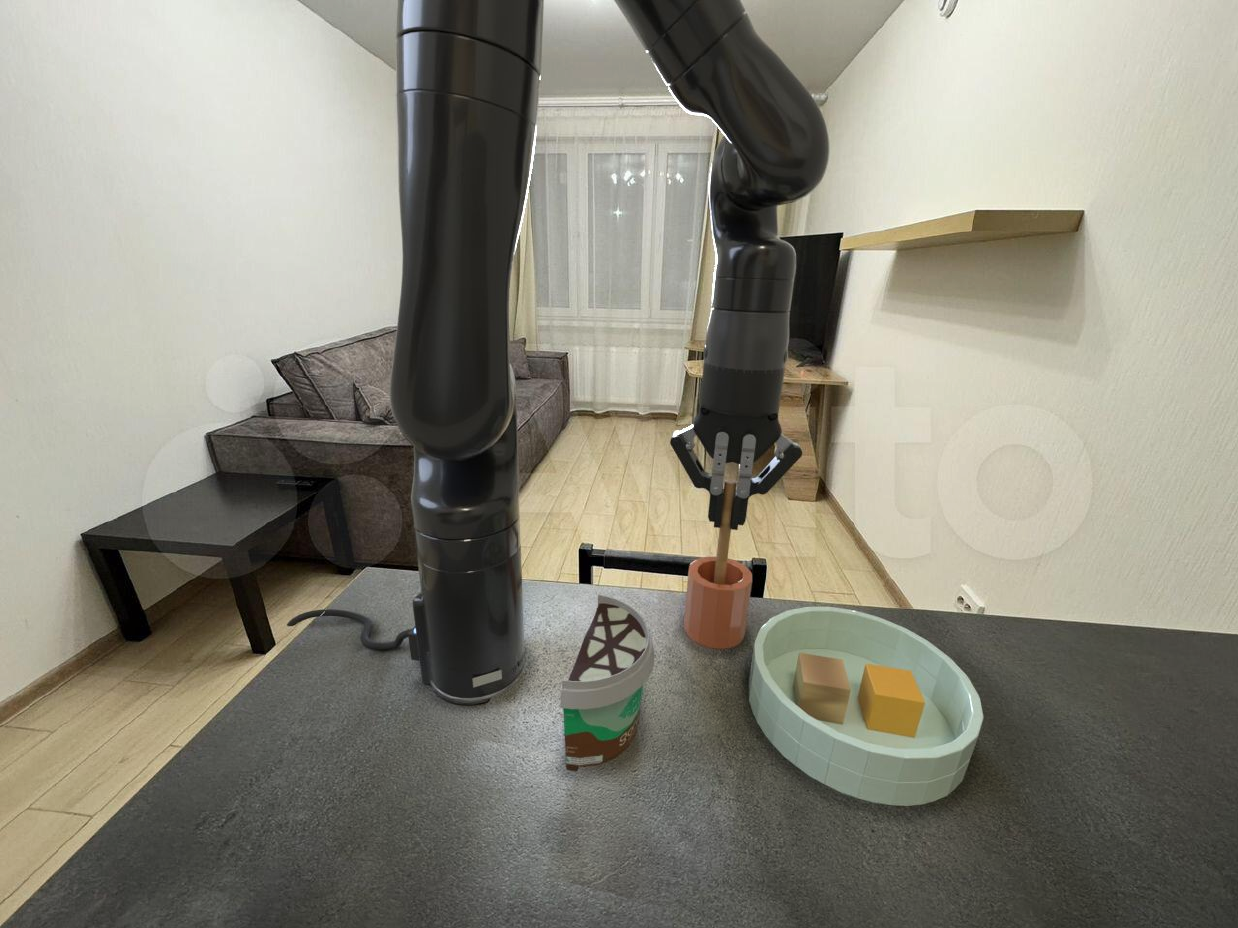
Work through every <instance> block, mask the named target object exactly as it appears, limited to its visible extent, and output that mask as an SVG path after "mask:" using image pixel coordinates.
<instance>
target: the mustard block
mask: <svg viewBox="0 0 1238 928" xmlns="http://www.w3.org/2000/svg"><path fill="white" fill-rule="evenodd" d="M858 699H859V703H860V706H861V710H862V713H863V717H864V720H865V724H866V727H867V729H869V730H875V731H880V732H886V733H891V734H897V735H902V736H908V737H913V738H915V735H916V732H917V729H918V725H919V722H920V719H921V715H922V712H923V708H924V705H925V701H924V699H923V697H922V694H921V692H920V690H919V688H918V685H917V683H916V681H915V679H914V676H913V674H912V672H911V671H909V670H903V669H897V668H891V667H884V666H878V665H872V664H865V668H864V672H863V676H862V680H861V685H860V689H859V693H858Z"/></svg>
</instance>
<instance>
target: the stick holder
mask: <svg viewBox="0 0 1238 928" xmlns="http://www.w3.org/2000/svg"><path fill="white" fill-rule="evenodd" d="M715 564H716V556H704V557H700V558H696V559H695V560H693V562H691V563H690V564H689V565H688V572H687V583H686V594H685V605H684V606H685V607H684V617H683V629H684V632H685V634H686V635H687V637H688V638H689V639H690V640H692V641H693V642H695V644H698V645H700V646H703V647H705V648H709V649H713V650H714V649H715V650H726V649H731V648H734V647H736V646H738V645H739V644H741V643H742V641H743V640H744V638H745V636H746V630H747V621H748V614H749V607H750V599H751V594H752V593H751V592H752V586H753V573H752V572H751V570H750V569H749V568H748V567H747V565H745V564H743V563H741V562H739V561H738V560H735V559H732V558H728V559H727V568H726V576H725V585H719V584H715V583H714V574H715Z"/></svg>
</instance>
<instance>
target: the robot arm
mask: <svg viewBox="0 0 1238 928" xmlns="http://www.w3.org/2000/svg"><path fill="white" fill-rule="evenodd" d="M613 1H614V2H615V4H616V6H617V7H618V8H619V10H620V12H621V13H622V15H623V16H624V18H625V19H626V21H627V23H628V24H629V27H630V28H631V29H632V32H633V33H634V34H635V36H636V38H637V39H638V41H639V43H640V44H641V46H642V47H643V49H644V51H645V53H647V56H648V58H649V59H650V60H651V62H652V64H653V66H654V67H655V69H656V71H657V72H658V73H659V75H660V77H661V79H662V80H663V82H664V84H665V85H666V86H668V88H667V89H668V90H669V92H670V93H671V95H672V96H673V98H674V99H675V101H676V102H677V103H678V104H679V106H680V107H681V108H682V109H683V111H685V112H686V113H688V114H690V115H692V116H693V115H694V116H704V117H707V118H709V119H711V120H712V122H713V123H714V124H715V125H716V126H717V127H718V129H719V130H720V131H721V133H722V134H723V136H722V137H721V139H720V141H719V142H718V144H717V146H716V149H715V151H714V154H713V158H712V161H711V167H710V173H709V181H708V195H709V196H708V197H709V210H710V221H711V222H710V223H711V231H712V239H713V245H714V251H715V265H714V266H715V267H714V272H713V283H712V293H711V294H712V295H711V305H710V307H711V308H710V314H709V319H708V323H707V327H706V332H705V333H706V334H705V343H704V347H703V352H702V353H703V355H702V356H703V364H702V365H703V366H702V375H701V376H702V378H701V388H700V399H699V411H698V413H697V415H696V416H695V417H694V420H693V422H692V424H691V425H690V426H688V427H686V428H683V429H682V430H680V429H676V430H675V431H673V433H672V435H671V437H670V441H669V444H670V446H671V448H672V449H673V450H672V451H674V452H675V455H676V457H677V459H678V460H679V462H680V464H681V465H682V468H683V469H684V470H685V472H686V474H687V476H688V478H689V479H690V481H691V483H692V484H693V486H694V487H695V488H696V489H701V488H702V489H704V490H706V491H708V493H709V500H708V501H709V502H708V503H709V504H708V513H707V519H708V521H709V522H710V523H712V522H713V528H716V529H719V528H720V527H721V518H722V509H723V500H724V493H723V492H724V478H725V472H726V471H725V470H726V464H730V463H734V464H737V465H738V472H737V481H736V483H737V484H736V492H735V496H734V504H733V513H732V521H731V531H733V530H734V531H738V530H739V526H744V525H745V523H746V521H747V512H748V504H749V499H750V498H751V497H752V496H754V495H758V494H759V495H760V496H761V495H766V494H768V492H769V491H770V490H772V488H773V487H774V486H775V485H776V484H778V482H779V481H780V480H781V479H782V478H783V477H784V476H785V474H787V472H788V471H789V470H791V468H792V467H793V466H794V465H795V464H796V463H797V462H798V461H799V459H801V457H802V456H803V450H802V448H801V445H800V443H799V441H797V440H795V439H790V438H789V437H787V436H786V434H783V431H782V426H781V423H780V421H779V415H780V414H779V413H780V406H781V399H782V393H783V385H784V377H785V371H786V364H787V362H788V358H789V350H788V349H789V344H790V343H789V342H790V317H791V316H790V314H791V307H792V300H793V293H794V286H795V285H794V284H795V279H796V270H797V253H796V249H795V248H794V246H793V245H792V244H791V243H789V242H788V241H786V240H784V239H781V238H780V236H779V218H778V217H779V216H778V207H779V206H783V205H788V204H791V203H796V202H798V201H800V200H802V199H804V198H806V197H807V196H809V195H810V194H811V193H812V192H813V191H814V190H815V189H817V187H819V185H820V183H821V182H822V180H823V179H824V177H825V175H826V172H827V169H828V165H829V161H830V153H831V151H830V150H831V148H830V147H831V145H830V135H829V130H828V126H827V122H826V119H825V117H824V115H823V112H822V110H821V108H820V107H819V105H818V103H817V101H816V100H815V99H814V96H813V95H812V94H811V93H810V92H809V91H808V89H807V87H805V85H804V84H803V83H802V82H801V81H800V80H799V78H798V77H797V76H796V75H795V74H794V72H793V71H792V70H791V69H790V68H789V67H788V66H787V64H786V63H785V62H784V61H783V59H782V58H781V57H780V56H779V55H778V53H776V52H775V51H774V50H773V49H772V48H771V47H770V46H769V45H768V44H767V43H766V42H765V41H764V40H763V39H762V38H761V37H760V35H759V34H758V33H757V31H756V29H755V27H754V25H753V22H752V21H751V19H750V17H749V14H748V13H747V12H746V9H745V8H746V7H745V6H744V5H743V3H742V0H613ZM544 3H545V0H397V9H396V11H397V13H396V30H395V33H396V34H395V35H396V36H395V40H396V42H395V119H396V149H397V150H396V151H397V152H396V153H397V183H398V184H397V185H398V186H397V187H398V203H399V216H400V217H399V219H400V232H401V251H402V257H401V258H402V260H401V263H402V264H401V268H402V269H401V281H400V296H399V305H398V314H397V322H396V323H397V324H396V333H395V340H394V348H393V356H392V364H391V371H390V378H389V379H390V380H389V387H388V388H389V389H388V390H389V392H388V393H389V395H388V397H389V404H390V410H391V414H392V417H393V419H394V421H395V423H396V425H397V427H398V430H399V431H400V433H401V434H402V436H403V437H404V438H405V439H406V440H407V442H408V443H409V444H410V445H411V446H413V459H414V460H413V476H412V484H411V491H410V508H411V518H412V525H413V534H414V542H415V543H414V544H415V550H416V552H415V553H416V558H417V559H416V560H417V568H418V575H419V584H420V591H419V592H418V593H417V594H416V595H415V596H414V597H413V599H412V602H411V603H412V604H411V605H412V611H413V612H412V613H413V620H414V626H413V628H408V629H405V630H402V631H400V632H398V634H397V635H396V637H395V639H394V640H392V641H388V642H387V641H386V642H377V641H374V640H371V639H370V638H369V635H370V633H371V630H372V627H373V622H372V620H371V619H370V618H369V617H368V616H366V615H363V614H360V613H357V612H355V611H351V610H350V611H349V610H345V609H335V608H331V609H330V608H324V609H323V608H322V609H314V610H310V611H306V612H303V613H300V614H298V615H296V616H293V618H291V619H290V621H288V622H287V623H286V626H287V627H289V628H290V627H293V626H296V625H297V624H300V623H301V622H303V621H306V620H308V619H313V618H318V617H339V618H346V619H350V620H354V621H356V622H359V623H361V624H363V625H364V626H363V628H362V631H361V634H360V637H359V639H360V642H361V645H363V646H364V647H365V648H367V649H370V650H375V651H389V650H394V649H398V648H399V647H400V646H401V645H402V644H403V642H404V640H405V639H407V638H408V645H409V652H410V660H411V661H416V662H419V668H420V669H419V670H420V678H421V683H422V684H426V685H429V686H431V689H432V691H433V692H434V693H435V694H436V695H437V696H438V697H440V698H441V699H443V700H445V701H447V702H450V703H453V704H458V705H478V704H484V703H488V702H490V701H491V699H493V698H495V697H498V696H500V695H502V694H504V693H506V692H507V691H508V690H510V689H511V688H513V686H514V685H516V684H517V683H518V682H519V680H520V679H521V678H522V676H523V674H524V672H525V670H526V665H527V655H526V645H525V623H524V598H523V594H524V593H523V570H522V545H521V544H522V543H521V519H520V517H521V516H520V461H519V460H520V459H519V435H518V434H519V433H518V428H519V427H518V400H517V383H516V376H515V373H514V369H513V366H512V364H511V362H510V291H511V290H510V287H511V279H512V278H511V277H512V269H513V264H514V259H515V255H516V249H517V244H518V240H519V236H520V232H521V227H522V223H523V218H524V214H525V208H526V203H527V199H528V193H529V186H530V181H531V174H532V169H533V162H534V155H535V146H536V138H537V128H538V117H539V115H538V114H539V102H540V91H541V77H542V57H543V56H542V55H543V54H542V53H543V52H542V51H543V34H544V33H543V30H544V8H545V7H544ZM695 437H697V438H698V440H699V441H700V443H701V445H702V447H703V448H704V449H705V451H706V453H707V454H708V456H709V457H710V458H711V459H712V468H711V473H709V472H706V470H705V468H704V467H703V464H702V463H701V460H700V459H699V458H698V456H697V454H696V452H695V450H694V449H695V445H696V439H695ZM774 444H776V446H775V448H774V449H773V451H774V457H773V459H771V461H769V463H768V464H767V465H766V466H765V467H764V468H763V470H761V471H760V473H758V475H757V476H756V477H753V468H754V463H756V462H757V461H758V460H760V459H761V458H762V456H764V455H765V454H766V452H767V451H769V450H770V448H772V446H774ZM325 609H327V610H325ZM324 611H325V613H324V614H323V615H322V616H320V615H321V614H322V613H323V612H324Z"/></svg>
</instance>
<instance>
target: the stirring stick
mask: <svg viewBox="0 0 1238 928" xmlns="http://www.w3.org/2000/svg"><path fill="white" fill-rule="evenodd" d="M723 489H724V492H723V493H724V500H723V509H722V518H721V527H720V528H718V538H717V547H716V556H715V557H716V564H715V574H714V583H715V584H719V585H725V576H726V568H727V559H729V550H730V542H731V535H732V534H731V533H732V529H731V521H732V513H733V504H734V496H735V492H736V490H737V481H736V480H734V479H725V480H724V482H723Z"/></svg>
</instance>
